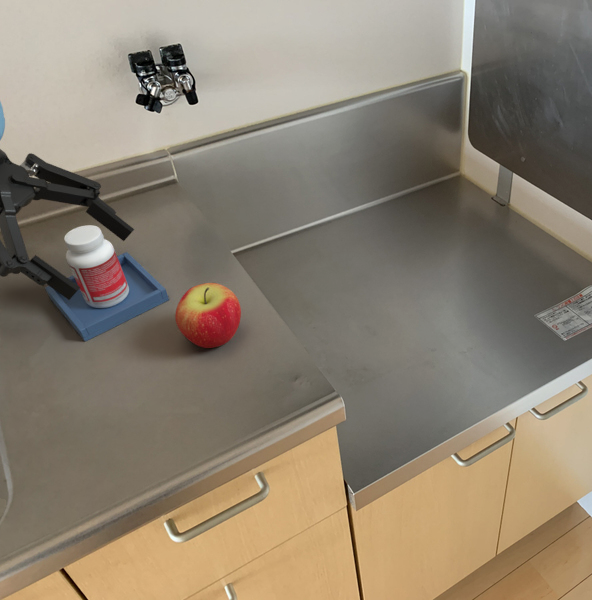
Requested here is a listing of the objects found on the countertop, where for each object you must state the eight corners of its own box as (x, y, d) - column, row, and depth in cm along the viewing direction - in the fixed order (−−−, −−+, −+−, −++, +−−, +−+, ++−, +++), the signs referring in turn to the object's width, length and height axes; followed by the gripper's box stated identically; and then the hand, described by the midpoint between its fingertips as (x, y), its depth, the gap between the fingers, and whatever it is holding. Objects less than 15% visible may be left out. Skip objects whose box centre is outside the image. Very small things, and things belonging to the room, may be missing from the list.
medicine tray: (85, 341, 84) (79, 330, 82) (50, 298, 91) (44, 287, 89) (169, 299, 90) (165, 289, 89) (130, 262, 97) (126, 251, 96)
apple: (209, 369, 80) (192, 313, 73) (171, 339, 84) (152, 284, 78) (258, 335, 85) (246, 280, 78) (220, 309, 89) (206, 254, 82)
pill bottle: (138, 287, 92) (116, 226, 84) (111, 313, 87) (85, 251, 80) (104, 279, 93) (79, 218, 86) (76, 304, 89) (47, 242, 81)
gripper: (14, 130, 89) (137, 227, 97) (-129, 224, 71) (37, 334, 78) (32, 97, 85) (159, 201, 93) (-115, 189, 67) (59, 309, 74)
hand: (103, 263), depth 86 cm, fingers open, 13 cm apart
